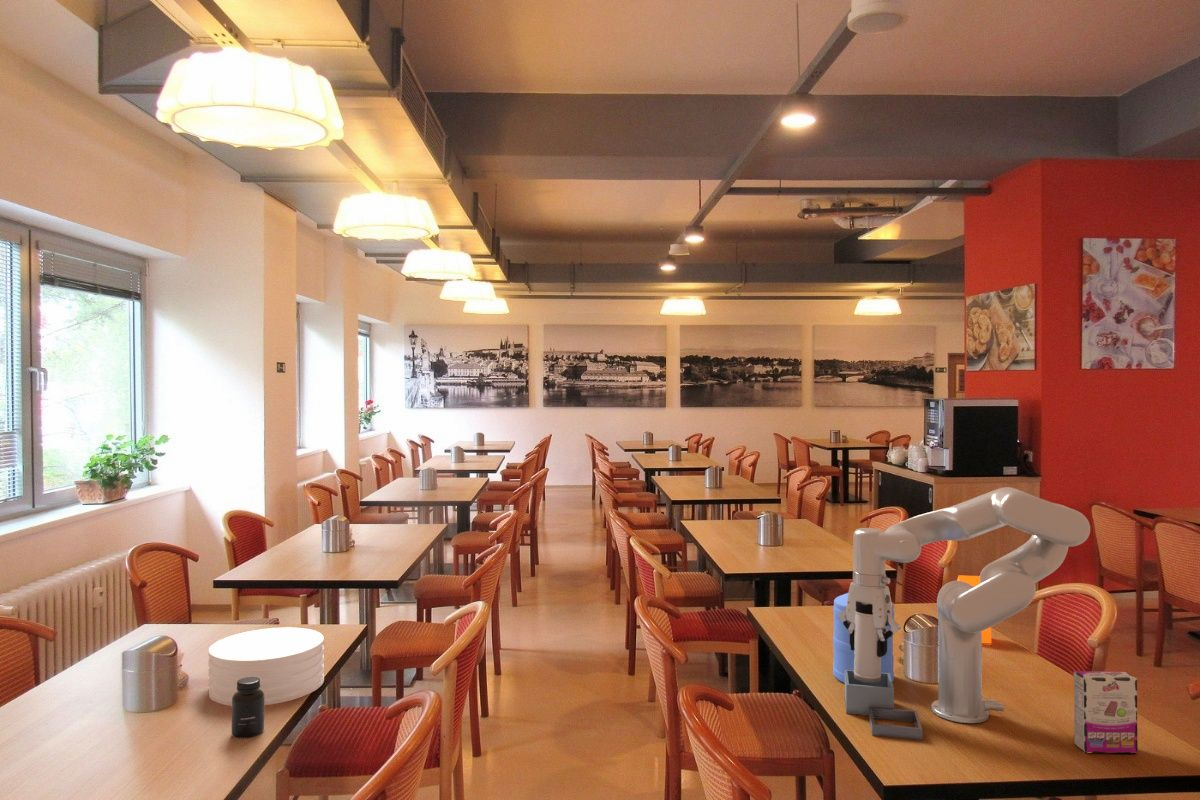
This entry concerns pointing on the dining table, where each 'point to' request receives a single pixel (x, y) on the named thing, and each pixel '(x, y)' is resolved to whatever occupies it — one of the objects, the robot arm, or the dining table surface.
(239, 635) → the plate stack
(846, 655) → the water jug
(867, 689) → the grey bin
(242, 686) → the supplement bottle
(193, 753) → the dining table surface
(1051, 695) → the dining table surface
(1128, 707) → the candy bar box
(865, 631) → the travel mug
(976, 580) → the orange juice
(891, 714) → the metal collar
